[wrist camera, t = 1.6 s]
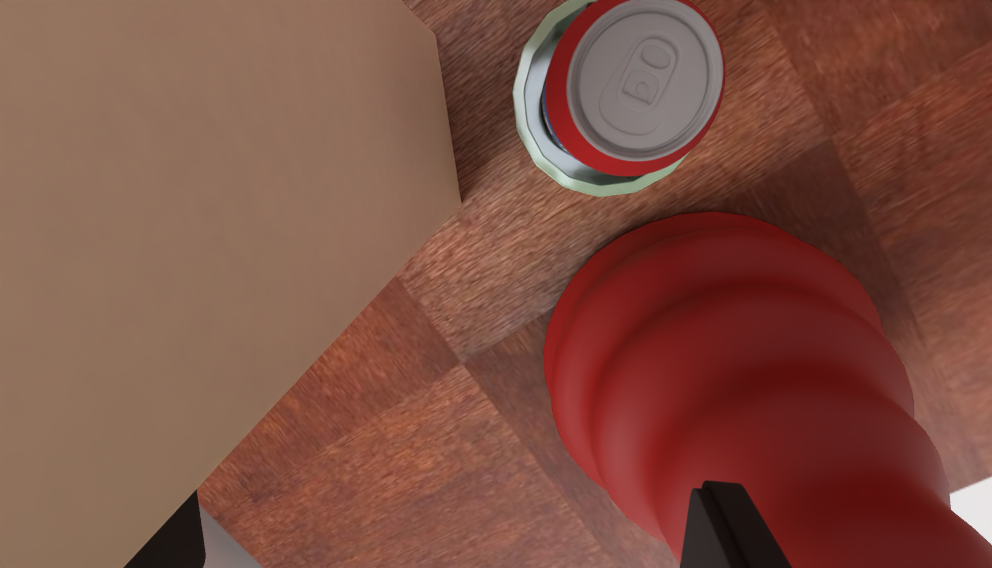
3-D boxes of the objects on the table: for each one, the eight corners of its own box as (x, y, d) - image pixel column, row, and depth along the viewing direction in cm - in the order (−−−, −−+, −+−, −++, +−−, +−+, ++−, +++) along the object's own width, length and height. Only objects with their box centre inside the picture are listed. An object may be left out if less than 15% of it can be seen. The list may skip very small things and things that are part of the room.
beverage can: (522, 134, 29) (517, 137, 18) (570, 18, 27) (599, -65, 15) (623, 179, 29) (683, 209, 18) (678, 67, 27) (785, 21, 16)
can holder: (507, 26, 28) (501, 2, 22) (677, -1, 27) (713, -33, 21) (525, 193, 30) (525, 206, 25) (681, 173, 29) (713, 183, 24)
